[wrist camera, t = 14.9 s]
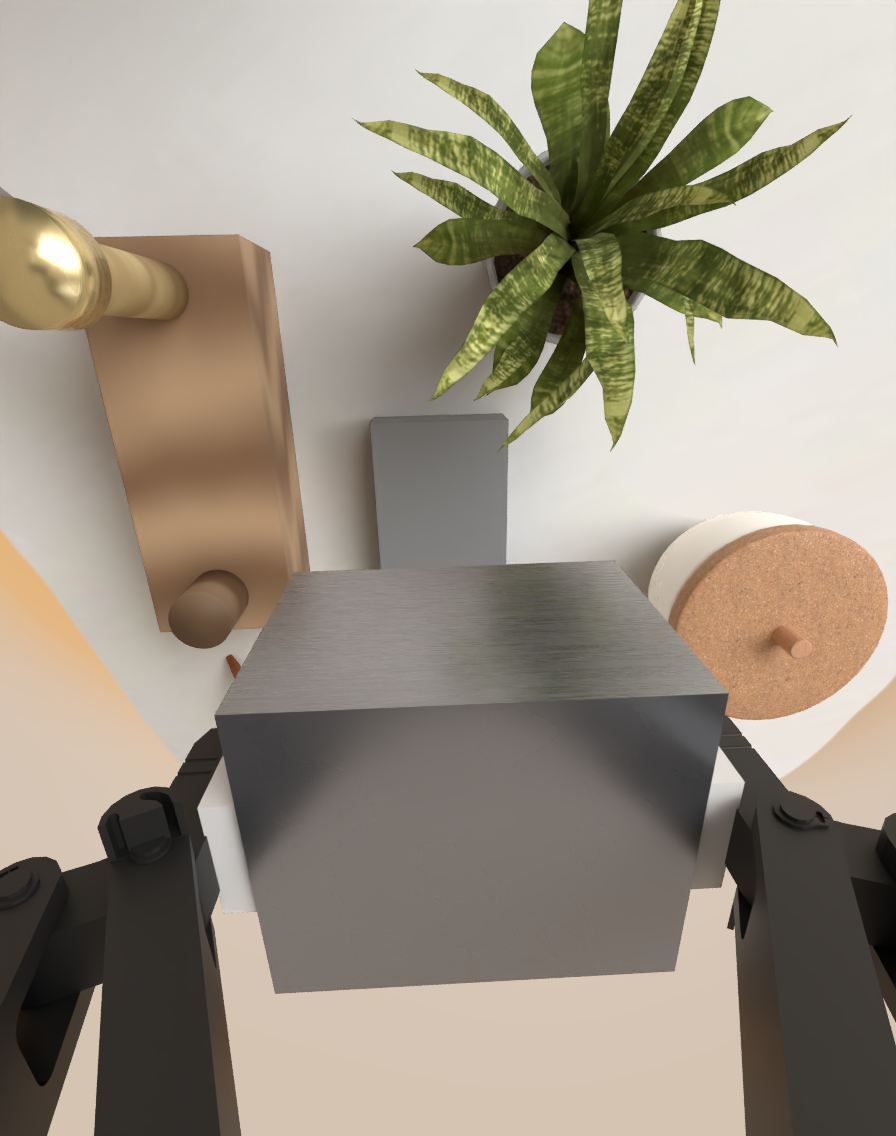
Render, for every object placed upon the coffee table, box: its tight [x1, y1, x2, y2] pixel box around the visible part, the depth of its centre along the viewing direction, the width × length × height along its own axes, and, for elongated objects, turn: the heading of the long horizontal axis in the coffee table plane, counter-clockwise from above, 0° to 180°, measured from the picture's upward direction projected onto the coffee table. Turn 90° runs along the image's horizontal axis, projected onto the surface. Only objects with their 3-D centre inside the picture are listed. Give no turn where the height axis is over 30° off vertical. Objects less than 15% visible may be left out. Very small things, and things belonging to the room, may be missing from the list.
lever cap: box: [214, 561, 729, 994], centre depth 13 cm, size 7×8×6 cm
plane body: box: [85, 234, 310, 649], centre depth 25 cm, size 18×7×12 cm, turn 1°
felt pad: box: [370, 414, 508, 569], centre depth 31 cm, size 10×7×2 cm
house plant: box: [352, 0, 852, 455], centre depth 20 cm, size 14×14×16 cm
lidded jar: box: [648, 511, 888, 720], centre depth 31 cm, size 11×11×9 cm
